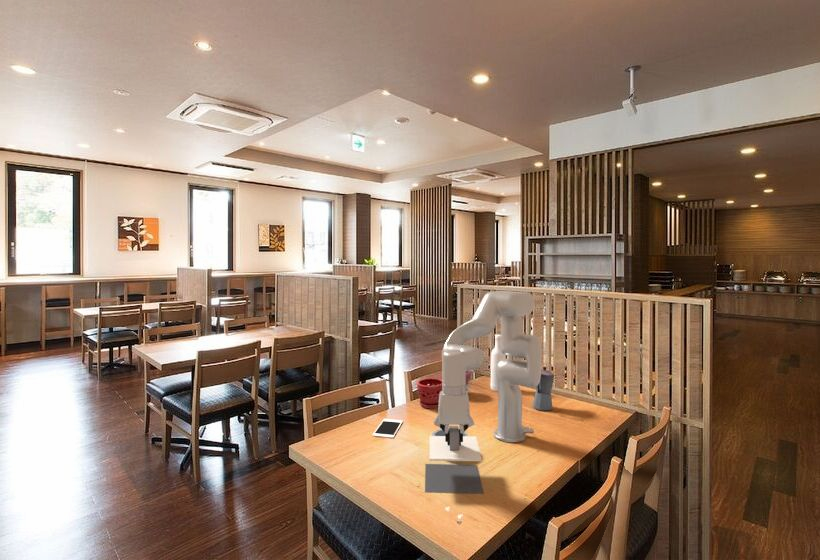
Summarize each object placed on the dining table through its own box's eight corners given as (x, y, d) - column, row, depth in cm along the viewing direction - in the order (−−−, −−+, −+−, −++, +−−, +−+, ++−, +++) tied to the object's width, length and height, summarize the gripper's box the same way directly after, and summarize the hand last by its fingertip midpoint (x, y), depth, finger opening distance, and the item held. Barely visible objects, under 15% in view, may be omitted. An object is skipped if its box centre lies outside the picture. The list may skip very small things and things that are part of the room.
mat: (477, 467, 150) (477, 465, 150) (483, 497, 132) (483, 493, 132) (425, 466, 151) (425, 463, 151) (424, 495, 133) (424, 492, 133)
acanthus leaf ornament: (459, 527, 118) (459, 520, 118) (442, 515, 124) (442, 509, 124) (477, 516, 123) (477, 510, 123) (460, 505, 128) (460, 499, 128)
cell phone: (403, 422, 191) (403, 420, 191) (393, 439, 174) (393, 437, 174) (383, 420, 193) (383, 418, 193) (372, 437, 175) (372, 435, 175)
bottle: (488, 387, 241) (489, 333, 240) (502, 386, 242) (503, 333, 240) (492, 391, 233) (493, 336, 232) (506, 391, 234) (507, 336, 232)
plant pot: (426, 399, 221) (426, 376, 220) (449, 404, 213) (449, 380, 212) (411, 406, 210) (412, 382, 209) (434, 412, 202) (434, 387, 202)
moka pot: (557, 405, 212) (558, 365, 211) (548, 415, 199) (549, 372, 198) (537, 402, 217) (538, 362, 216) (528, 411, 204) (529, 369, 203)
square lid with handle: (476, 438, 149) (476, 419, 148) (481, 461, 133) (481, 440, 132) (429, 437, 149) (429, 419, 149) (429, 460, 134) (429, 440, 133)
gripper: (478, 385, 143) (477, 438, 144) (428, 385, 144) (429, 438, 145) (480, 392, 135) (480, 449, 137) (428, 392, 136) (429, 449, 138)
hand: (454, 443), depth 141 cm, fingers closed on square lid with handle, 3 cm apart
